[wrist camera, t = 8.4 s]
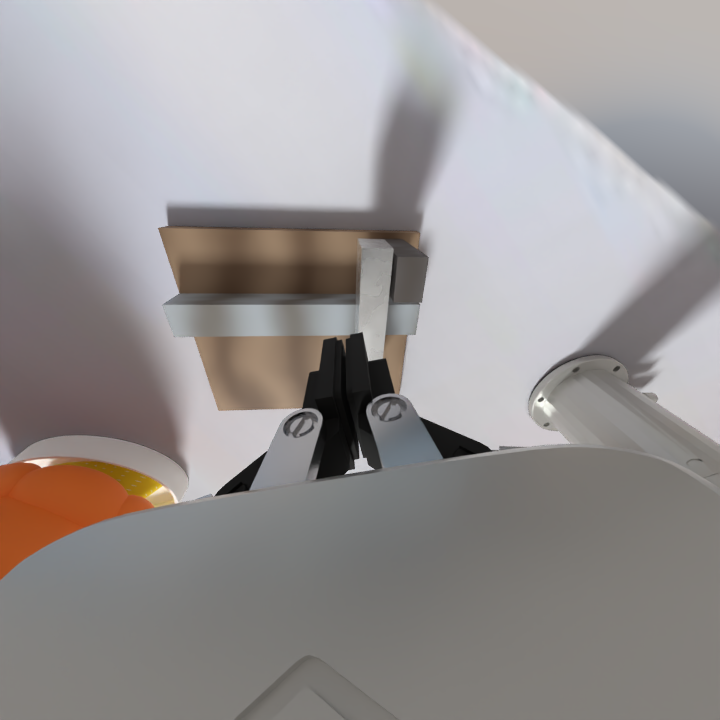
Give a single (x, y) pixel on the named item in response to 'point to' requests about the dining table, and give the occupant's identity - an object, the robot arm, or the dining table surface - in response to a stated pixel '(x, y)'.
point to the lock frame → (280, 304)
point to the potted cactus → (78, 489)
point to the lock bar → (373, 293)
